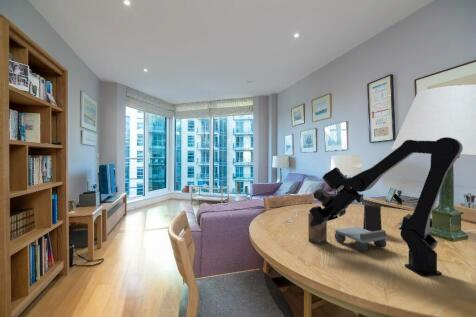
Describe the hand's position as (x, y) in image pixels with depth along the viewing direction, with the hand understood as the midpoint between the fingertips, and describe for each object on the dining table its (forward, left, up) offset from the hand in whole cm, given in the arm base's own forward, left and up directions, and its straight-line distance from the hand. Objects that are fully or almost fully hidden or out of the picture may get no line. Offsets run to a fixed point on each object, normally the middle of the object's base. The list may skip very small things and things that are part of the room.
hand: (314, 223), depth 98 cm
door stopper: (+6, -29, -7) cm, 30 cm away
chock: (-1, -1, -7) cm, 7 cm away
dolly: (-7, -15, -7) cm, 18 cm away
